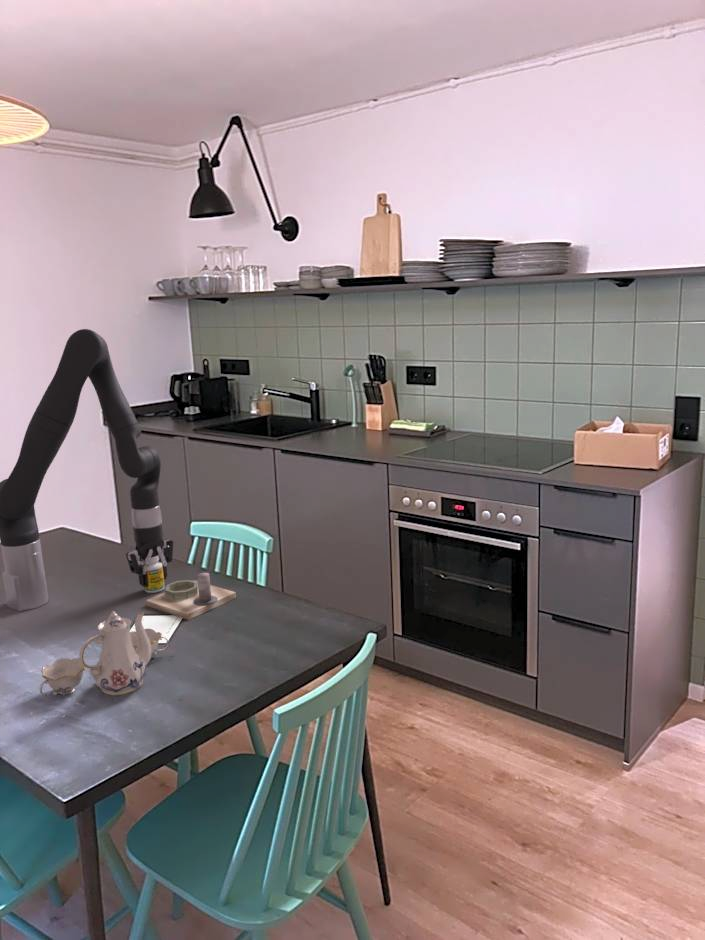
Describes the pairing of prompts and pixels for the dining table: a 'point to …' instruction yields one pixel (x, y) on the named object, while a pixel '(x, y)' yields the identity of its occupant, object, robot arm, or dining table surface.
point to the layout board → (190, 597)
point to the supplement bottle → (155, 576)
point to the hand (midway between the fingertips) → (153, 582)
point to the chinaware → (109, 659)
